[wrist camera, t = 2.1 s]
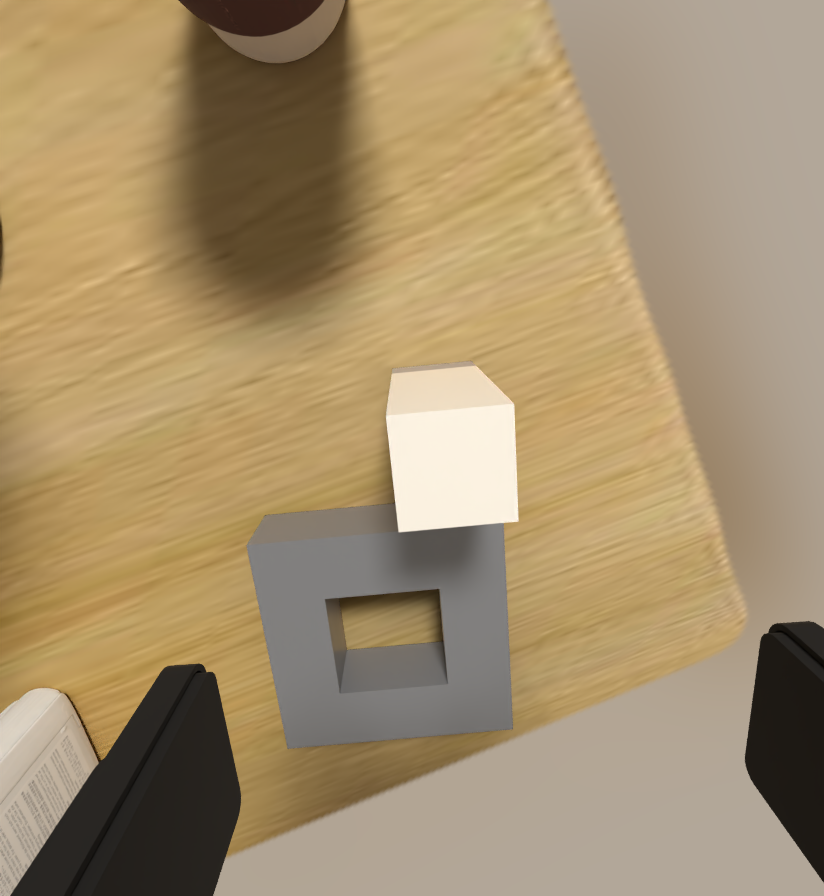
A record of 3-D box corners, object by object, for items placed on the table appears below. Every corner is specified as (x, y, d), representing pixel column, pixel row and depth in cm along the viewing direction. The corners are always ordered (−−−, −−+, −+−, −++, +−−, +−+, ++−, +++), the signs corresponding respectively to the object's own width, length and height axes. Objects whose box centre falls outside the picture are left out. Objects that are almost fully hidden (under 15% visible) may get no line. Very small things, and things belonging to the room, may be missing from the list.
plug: (392, 368, 30) (385, 415, 18) (471, 360, 30) (513, 403, 18) (400, 443, 31) (398, 532, 20) (475, 436, 31) (518, 521, 20)
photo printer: (7, 690, 36) (-190, 888, 24) (67, 679, 35) (-102, 873, 24) (64, 803, 39) (-86, 1029, 27) (120, 793, 38) (-7, 1017, 26)
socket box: (265, 515, 32) (246, 545, 28) (491, 494, 32) (503, 521, 28) (299, 700, 36) (287, 748, 32) (501, 682, 36) (512, 729, 32)
